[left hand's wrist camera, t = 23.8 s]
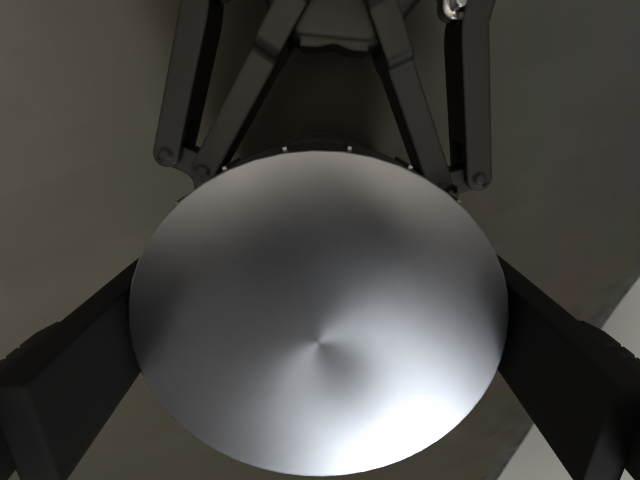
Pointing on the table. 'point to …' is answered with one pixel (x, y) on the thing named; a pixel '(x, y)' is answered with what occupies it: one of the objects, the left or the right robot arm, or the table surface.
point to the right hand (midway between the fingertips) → (313, 294)
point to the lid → (318, 310)
